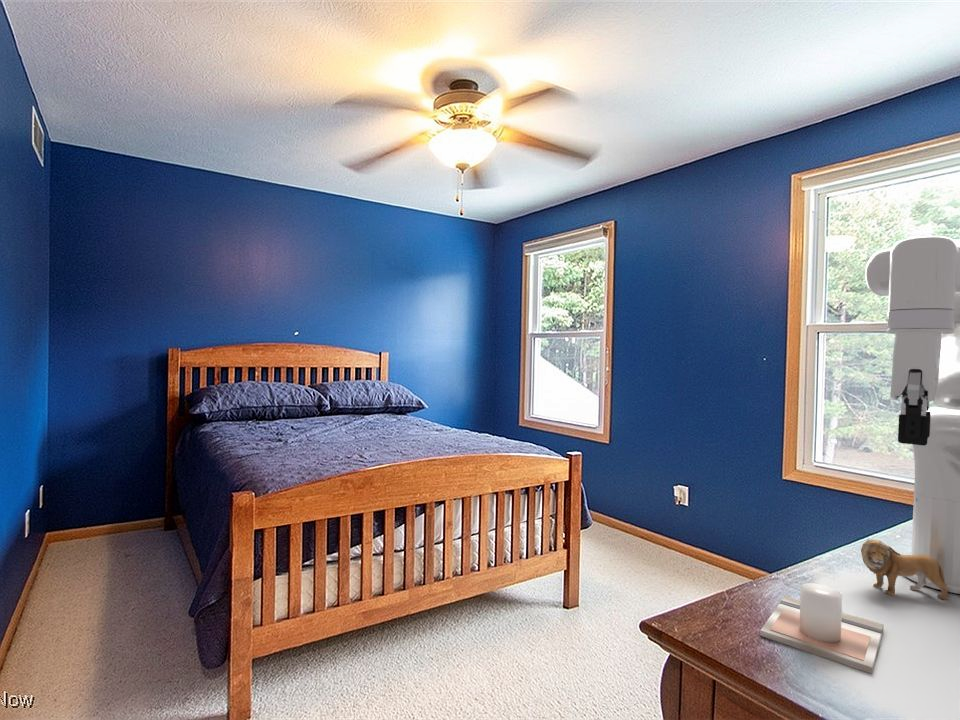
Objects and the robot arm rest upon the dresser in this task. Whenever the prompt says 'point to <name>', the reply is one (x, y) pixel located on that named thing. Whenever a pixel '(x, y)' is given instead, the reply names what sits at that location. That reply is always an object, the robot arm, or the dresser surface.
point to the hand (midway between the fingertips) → (914, 440)
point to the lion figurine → (901, 567)
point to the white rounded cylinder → (820, 612)
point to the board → (851, 650)
